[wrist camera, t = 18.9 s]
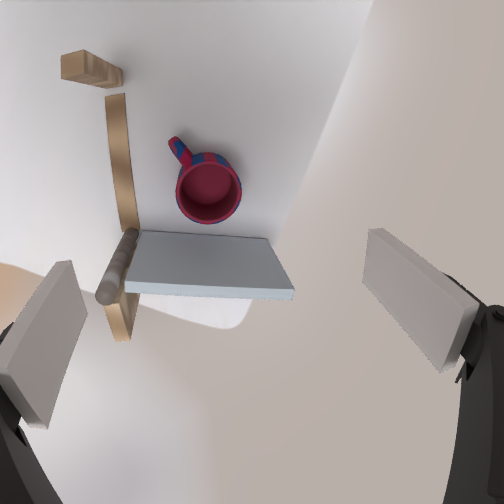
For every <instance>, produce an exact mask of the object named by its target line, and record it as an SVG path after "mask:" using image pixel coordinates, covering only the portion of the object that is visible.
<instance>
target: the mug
mask: <svg viewBox="0 0 504 504" xmlns="http://www.w3.org/2000/svg"><path fill="white" fill-rule="evenodd" d="M168 145H169V147H170V149H171V150H172V152H173V153H174V155H175V156H176V158H177V159H178V160H179V162H180V163H181V164H182V165H183V166H182V168H181V170H180V173H179V176H178V181H177V185H176V191H175V192H176V201H177V204H178V206H179V208H180V210H181V211H182V213H183V214H184V215H185V216H186V217H188V218H189V219H190V220H192V221H194V222H197V223H200V224H216V223H219V222H222V221H224V220H226V219H227V218H229V217H230V216H231V215H232V214H233V213H234V212H235V211H236V209H237V207H238V206H239V203H240V201H241V196H242V188H241V183H240V180H239V178H238V176H237V174H236V173H235V171H234V170H233V168H232V167H231V166H230V164H229V163H228V162H227V160H225V159H224V158H223V157H221V156H220V155H218V154H215V153H210V152H204V153H199V154H196V155H193V154H192V153H191V152H190V151H189V149H188V148H187V147H186V146H185V145H184V143H183V142H182V141H181V140H180V139H179V138H178V137H176V136H174V137H172V138H171V139H170V140H169V141H168Z"/></svg>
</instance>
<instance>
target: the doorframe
mask: <svg viewBox="0 0 504 504" xmlns="http://www.w3.org/2000/svg"><path fill="white" fill-rule="evenodd" d="M61 79H64V80H69V81H74V82H79V83H84V84H88V85H93V86H97V87H101V88H106V89H107V88H112V87H118V86H122V70H121V69H119V68H118V67H116V66H114V65H112V64H110V63H108V62H107V61H105V60H103V59H101V58H99V57H97V56H95V55H93V54H91V53H90V52H88V51H86V50H80V51H76V52H72V53H69V54H65V55H62V56H61ZM105 107H106V119H107V131H108V141H109V150H110V158H111V166H112V174H113V181H114V188H115V194H116V201H117V207H118V213H119V218H120V224H121V229H122V232H124V231H125V233H124V235H123V237H122V239H121V241H120V243H119V245H118V247H117V249H116V251H115V253H114V255H113V257H112V259H111V261H110V263H109V265H108V267H107V269H106V271H105V273H104V275H103V278H102V280H101V282H100V284H99V286H98V289H97V291H96V293H95V297H96V300H97V301H98V302H99V303H100V304H102V305H103V306H104V309H105V312H106V316H107V319H108V322H109V325H110V328H111V330H112V334H113V337H114V339H115V341H130V339H131V335H132V329H133V325H134V320H135V316H136V311H137V307H138V302H139V298H140V293H129V292H125V278H126V275H127V272H128V270H129V267H130V264H131V261H132V258H133V256H134V253H135V250H136V248H137V245H138V243H137V244H135V243H136V240H137V238H138V235H139V234H138V231H137V230H140V226H139V220H138V213H137V207H136V200H135V193H134V186H133V178H132V170H131V162H130V153H129V143H128V133H127V121H126V108H125V93H123V94H117V95H112V96H107V97H105Z"/></svg>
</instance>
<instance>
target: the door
mask: <svg viewBox="0 0 504 504" xmlns="http://www.w3.org/2000/svg"><path fill="white" fill-rule="evenodd" d="M294 291H295V289H294V287H293V285H292V283H291V281H290V280H289V278H288V276H287V274H286V272H285V270H284V269H283V267H282V265H281V263H280V261H279V260H278V258H277V256H276V254H275V252H274V251H273V249H272V247H271V245H270V243H269V242H268V240H267V239H256V238H243V237H229V236H214V235H199V234H184V233H169V232H153V231H143V232H142V234H141V237H140V240H139V242H138V245H137V248H136V250H135V253H134V256H133V258H132V261H131V264H130V267H129V270H128V272H127V275H126V278H125V292H129V293H143V294H158V295H175V296H194V297H215V298H240V299H275V300H277V299H278V300H292V299H293V296H294Z"/></svg>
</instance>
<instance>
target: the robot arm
mask: <svg viewBox="0 0 504 504" xmlns="http://www.w3.org/2000/svg"><path fill="white" fill-rule="evenodd" d="M362 282H363V283H364V285H365V286H366V287H367V288H368V289H369V290H370V291H371V292H372V294H373V295H374V296H375V297H376V298H377V299H378V300H379V302H380V303H381V304H382V305H383V306H384V307H385V308H386V310H387V311H388V312H389V313H390V314H391V315H392V316H393V318H394V319H395V320H396V321H397V322H398V323H399V325H400V326H401V327H402V328H403V329H404V331H405V332H406V333H407V334H408V335H409V337H410V338H411V339H412V340H413V341H414V342H415V344H416V345H417V346H418V347H419V348H420V350H421V351H422V352H423V353H424V355H425V356H426V357H427V358H428V360H429V361H430V362H431V363H432V365H433V366H434V367H435V368H436V370H437V371H438V372H439V373H441V372H444V371H446V370H449V369H451V368H454V367H455V365H456V363H457V361H458V358H459V356H460V354H461V355H462V356H463V357H464V359H465V362H464V364H463V366H462V368H461V370H460V372H459V374H458V376H457V378H456V381H455V383H458V381H459V379H460V378H462V381H461V382H462V383H461V396H460V408H459V417H458V427H457V434H456V441H455V447H454V453H453V459H452V464H451V470H450V475H449V479H448V484H447V489H446V493H445V497H444V501H443V504H504V307H503V306H500V305H491V306H489V307H487V306H486V305H485V304H484V303H482V302H481V301H480V300H479V299H478V298H477V297H475V296H474V295H473V294H472V293H471V292H469V291H468V290H466V288H465V287H463V286H462V285H460V284H459V283H458V282H457V281H456V280H455V279H453V278H452V277H451V276H449V275H446V274H444V273H442V272H441V271H439V270H438V269H437V268H436V267H434V266H433V265H432V264H430V263H429V262H428V261H427V260H425V259H424V258H423V257H421V256H420V255H419V254H417V253H416V252H415V251H413V250H412V249H411V248H409V247H408V246H407V245H405V244H404V243H403V242H401V241H400V240H399V239H397V238H396V237H395V236H393V235H392V234H390V233H389V232H388V231H386V230H385V229H383V228H377V229H369V232H368V241H367V251H366V259H365V266H364V274H363V281H362ZM87 315H88V313H87V310H86V307H85V304H84V301H83V298H82V295H81V291H80V288H79V285H78V282H77V278H76V275H75V271H74V268H73V264H72V261H71V260H69V261H60V262H56V263H55V265H54V266H53V267H52V269H51V270H50V271H49V273H48V274H47V275H46V277H45V278H44V280H43V281H42V282H41V284H40V285H39V287H38V288H37V290H36V291H35V292H34V294H33V296H32V297H31V298H30V299H29V301H28V302H27V304H26V305H25V307H24V308H23V310H22V312H21V313H20V314H19V316H18V318H17V319H16V321H15V322H12V323H11V324H10V325H9V326H8V327H7V328H6V329H5V330H3V332H2V334H1V335H0V504H63V503H62V501H61V500H60V498H59V497H58V495H57V493H56V492H55V490H54V488H53V487H52V485H51V483H50V482H49V480H48V479H47V476H46V475H45V473H44V471H43V469H42V467H41V466H40V464H39V462H38V460H37V458H36V456H35V454H34V452H33V450H32V448H31V446H30V444H29V442H28V440H27V438H26V436H25V434H24V431H23V430H22V429H21V427H20V426H19V425H18V424H19V421H20V418H21V416H22V418H23V419H24V420H25V422H26V423H27V424H28V426H29V427H32V428H40V429H48V427H49V423H50V420H51V416H52V413H53V410H54V406H55V403H56V400H57V397H58V393H59V390H60V387H61V384H62V381H63V378H64V375H65V373H66V370H67V367H68V364H69V361H70V358H71V356H72V353H73V350H74V348H75V345H76V342H77V340H78V337H79V335H80V332H81V330H82V327H83V324H84V322H85V320H86V317H87Z"/></svg>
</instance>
